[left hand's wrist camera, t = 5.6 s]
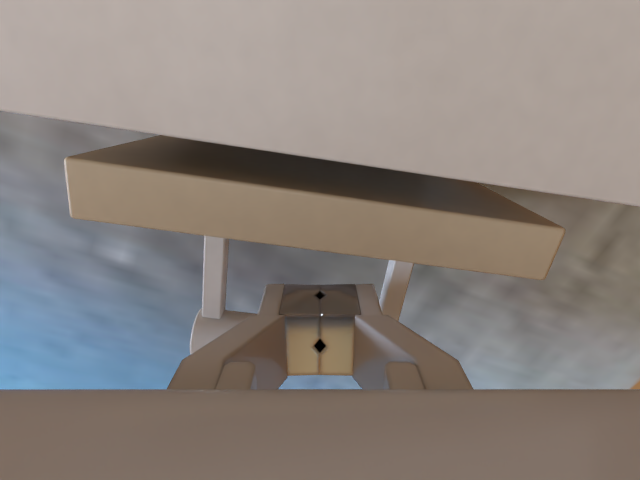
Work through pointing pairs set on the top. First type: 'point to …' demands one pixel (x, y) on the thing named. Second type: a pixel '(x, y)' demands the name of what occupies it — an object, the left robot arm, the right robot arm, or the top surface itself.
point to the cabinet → (352, 81)
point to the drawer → (305, 214)
